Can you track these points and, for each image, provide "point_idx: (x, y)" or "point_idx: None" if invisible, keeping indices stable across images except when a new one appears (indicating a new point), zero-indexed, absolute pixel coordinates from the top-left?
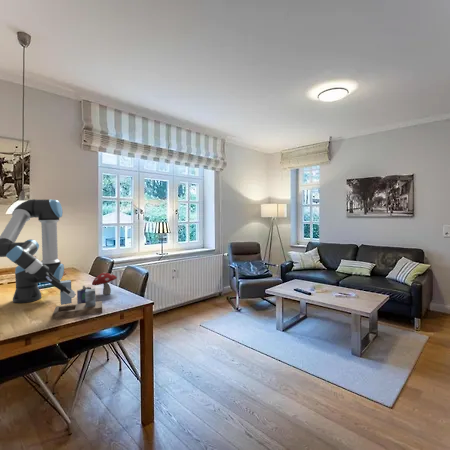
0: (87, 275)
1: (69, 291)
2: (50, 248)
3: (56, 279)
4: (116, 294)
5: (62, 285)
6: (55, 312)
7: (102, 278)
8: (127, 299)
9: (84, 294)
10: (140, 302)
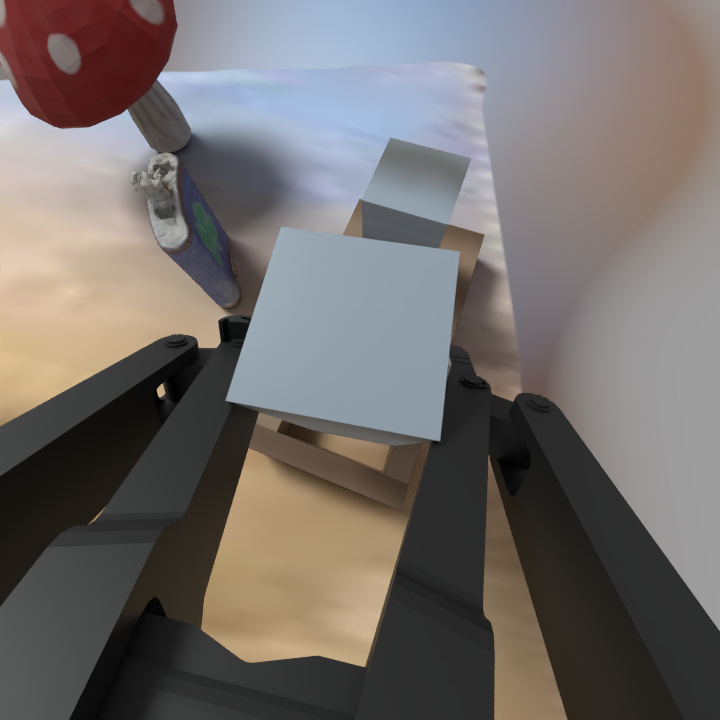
0: None
1: (467, 355)
2: None
3: (199, 491)
4: (221, 114)
5: (564, 441)
6: (389, 488)
7: (110, 14)
8: (350, 109)
9: (202, 232)
10: (443, 89)
